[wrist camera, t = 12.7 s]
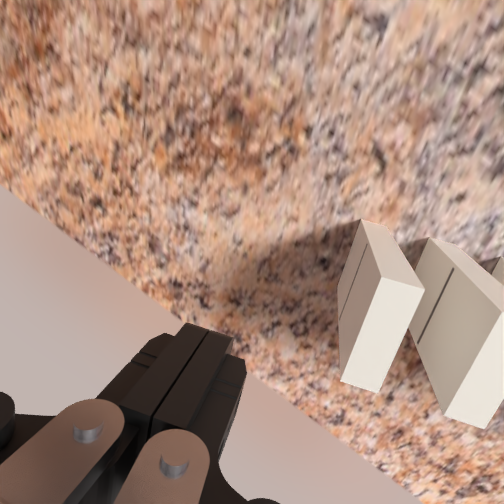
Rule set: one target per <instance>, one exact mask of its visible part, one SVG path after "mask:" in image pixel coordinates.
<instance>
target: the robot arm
mask: <svg viewBox="0 0 504 504" xmlns="http://www.w3.org/2000/svg"><path fill="white" fill-rule="evenodd" d="M233 341H234V338H233V337H230V336H227V335H224V334H221V333H218V332H215V331H212V330H211V331H210V330H208V329H205V328H202V327H199V326H196V325H193V324H190V323H185V324H184V326H183V327H182V328H181V329H180V331H179V332H178V333H177V334H176V335H175V336H172V335H170V334H167V333H163V334H161V335H159V336H157V337H155V338H153V339H151V340H149V341H148V342H147V344H146V345H145V346H144V347H143V348H142V349H141V350H140V351H139V353H137V354H136V355H135V356H134V357H133V359H132V360H131V362H130V363H128V364H127V365H126V366H125V367H124V368H123V369H122V370H121V371H120V373H119V374H118V375H117V376H116V377H115V378H114V379H113V380H112V381H111V382H110V383H109V384H108V385H107V386H106V387H105V389H104V390H103V391H102V392H101V393H100V394H99V395H98V396H97V397H96V398H95V399H88V400H83V401H79V402H76V403H74V404H72V405H70V406H68V407H67V408H65V409H64V410H63V411H61V412H60V413H59V414H58V415H57V416H39V415H25V414H15V404H14V401H13V400H12V398H11V397H10V396H9V395H7V394H5V393H3V392H0V504H280V503H278V502H276V501H273V500H270V499H265V498H257V499H253V500H250V501H247V500H246V499H244V498H243V497H242V496H241V495H240V494H239V493H237V492H236V491H235V490H234V489H233V488H232V487H231V486H230V485H229V484H228V483H227V482H226V480H225V479H224V477H223V475H222V473H221V470H220V468H219V463H218V462H219V459H220V457H221V454H222V451H223V448H224V446H225V442H226V440H227V437H228V435H229V432H230V429H231V426H232V423H233V421H234V418H235V415H236V412H237V408H238V404H239V401H240V397H241V393H242V389H243V386H244V382H245V378H246V375H247V371H246V366H245V361H244V359H241V358H238V357H235V356H232V355H230V354H231V350H232V346H233Z"/></svg>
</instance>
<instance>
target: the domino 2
mask: <svg viewBox="0 0 504 504" xmlns="http://www.w3.org/2000/svg"><path fill="white" fill-rule="evenodd" d="M414 272H415V274H416V275H417V277H418V279H419V280H420V282H421V283H422V285H423V287H424V288H425V291H424V293H423V296H422V298H421V300H420V302H419V304H418V307H417V309H416V311H415V313H414V315H413V318H412V320H411V322H410V324H409V326H408V328H409V330H410V333H411V335H412V338H413V340H414V343H415V345H416V348H417V350H418V353H419V355H420V358H421V360H422V363H423V365H424V368H425V370H426V373H427V375H428V378H429V380H430V383H431V385H432V388H433V390H434V393H435V395H436V398H437V400H438V403H439V405H440V408H441V410H442V413H443V415H444V416H446V417H449V418H452V419H455V420H458V421H461V422H464V423H467V424H470V425H473V426H476V427H479V428H482V429H485V428H486V426H487V425H488V423H489V421H490V420H491V418H492V417H493V415H494V413H495V412H496V410H497V409H498V407H499V405H500V404H501V402H502V401H503V399H504V286H503V285H502V284H501V283H500V282H498V281H497V280H496V279H495V278H494V277H493V276H491V275H490V274H489V273H488V272H487V271H486V270H485V269H483V268H482V267H481V266H480V265H479V264H478V263H476V262H475V261H474V260H473V259H472V258H471V257H469V256H468V255H467V254H466V253H465V252H464V251H462V250H461V249H460V248H459V247H458V246H457V245H456V244H452V243H449V242H445V241H441V240H437V239H434V238H430V237H429V239H428V241H427V243H426V246H425V248H424V250H423V252H422V255H421V257H420V259H419V262H418V264H417V266H416V269H415V271H414Z"/></svg>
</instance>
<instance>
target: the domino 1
mask: <svg viewBox="0 0 504 504" xmlns="http://www.w3.org/2000/svg"><path fill="white" fill-rule="evenodd" d="M424 291H425V288H424V287H423V285H422V283H421V282H420V280H419V279H418V277H417V275H416V274H415V272H414V270H413V269H412V267H411V266H410V264H409V262H408V261H407V259H406V257H405V256H404V254H403V253H402V251H401V249H400V248H399V246H398V244H397V243H396V241H395V240H394V238H393V236H392V235H391V233H390V231H389V230H388V228H387V227H386V226H385V225H382V224H378V223H374V222H371V221H367V220H363V219H361V221H360V223H359V226H358V229H357V232H356V235H355V238H354V240H353V243H352V246H351V249H350V252H349V255H348V258H347V260H346V263H345V266H344V269H343V272H342V275H341V278H340V280H339V283H338V286H337V296H338V328H339V360H340V381H341V382H344V383H347V384H350V385H353V386H356V387H359V388H362V389H365V390H368V391H371V392H374V393H377V394H378V392H379V390H380V388H381V386H382V383H383V381H384V379H385V377H386V375H387V372H388V370H389V368H390V366H391V364H392V361H393V359H394V357H395V355H396V353H397V350H398V348H399V346H400V344H401V342H402V340H403V337H404V335H405V333H406V331H407V329H408V326H409V324H410V322H411V320H412V318H413V315H414V313H415V311H416V309H417V307H418V304H419V302H420V300H421V298H422V296H423V293H424Z"/></svg>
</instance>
